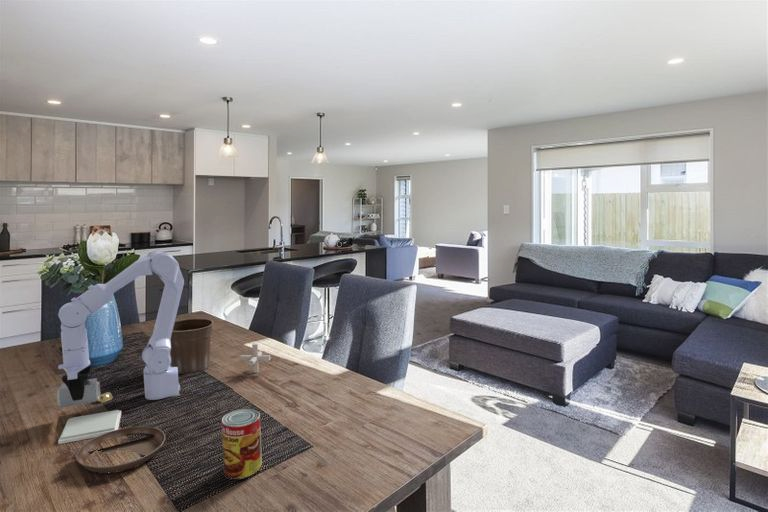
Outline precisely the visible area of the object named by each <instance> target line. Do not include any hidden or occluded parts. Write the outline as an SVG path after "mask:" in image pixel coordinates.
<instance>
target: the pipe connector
mask: <svg viewBox="0 0 768 512" xmlns="http://www.w3.org/2000/svg"><path fill="white" fill-rule="evenodd" d="M251 345H252V347H251V348H252V349H251V350H252V351H251V352H252V354H251V355H250V354H249V355H248V354H245V355H243V354H241V355H240V356H239V358H240V359H239V360H240V362H243V361H245V362H246V361H248V362H247V364H248V366H250V367H251V366H252V372H253V373H254V374H258V373H260V372H259V371H260V370H259V369H260V368H259V367H260V366H259V361H265V362H267V361H271V357H272V356H271V355H269V354H268V355H267V354H265V355H264V354H263V351H261V350H259V347H258V346H259V344H258V343H257V342H255V343H252V344H251Z"/></svg>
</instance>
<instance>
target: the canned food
mask: <svg viewBox="0 0 768 512" xmlns="http://www.w3.org/2000/svg"><path fill="white" fill-rule="evenodd" d="M261 432H262V431H261V413H260V412H259V411H258V410H255V409H252V408H240V409H235V410H232V411H229V412H228V413H226V414H225V415H223V417H222V418H221V434H222V435H221V438H222V456H223V474H224V473H225V475H226V476H229V477H232V478H243V477H247V476H250V475H252V474H254V473H255V472H257V471H258V470H259V469H260V467H261V465H262V466H263V462H262V460H263V459H262V436H261V434H262V433H261ZM225 475H224V476H225ZM226 476H225V477H226Z"/></svg>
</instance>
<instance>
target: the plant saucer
mask: <svg viewBox="0 0 768 512" xmlns="http://www.w3.org/2000/svg"><path fill="white" fill-rule="evenodd" d="M134 434H136V435H137V434H148V435H151V436H148V437H144V438H139V439H136V440H132V441H127V442H124V443H120V444H116V445H111V446H107V447H103V448H99V449H100V450H98V449H95V450H92V449H94V448H95V447H97V446H99V445H101V444H102V443H105V442H107V441H110V440H113V439H116V438H120V437H123V436H128V435H134ZM165 440H166V434H165V432H164V431H163V430H161V429H159V428H157V427H152V426H142V425H141V426H129V427H124V428H123V427H122V428H118V430H115V431H111V432H108V433H105V434H103V435H100V436H98V437H94V438H91V440H89V441H86V442H85V443H84V444H83V445H82V446H81V447H80V448H79V449H78V450H77V453H75V454H76V455H75V460H76V461H77V462H78V464H80V465H81V466H82V467H83V468H85V469H87V471H89V472H92V471H93V472H92V473H95V472H100V473H99V474H102V473H108V472H116V471H122V470H126V469H129V470H131V469H130V468H132V467H135V466H137V465H139V466H141V465H143V464H144V462H145V463H146V461H147V462H149V461H150V460H151V459H152V458H154V456H155V455H156V454H157V453H158V452H159V450H160V449H161V448H162V446H163V444H164V443H165ZM118 448H119V449H120V450H119V451H127V450H131V451H127V452H136V453H139V454H142V455H145V456H144V457H141V458H139V459H137V460H134V461H131V462H127V463H124V464H119V465H113V466H102V467H97V466H89V465H86V464H85V460H86V459H87V457H89V455H90V454H92V453H93V452H94V451H96V450H98V451H101V450H102V453H103V454H105V453H106V452H107V453H110V454H108V455H112V454H114V453H115V452H116V451H117V450H118ZM150 458H151V459H150ZM149 459H150V460H149ZM142 463H143V464H142ZM140 464H141V465H140ZM137 467H138V466H137ZM135 468H136V467H135ZM132 469H133V468H132ZM126 471H127V470H126ZM122 472H123V471H122ZM108 474H109V473H108Z"/></svg>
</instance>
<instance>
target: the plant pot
mask: <svg viewBox="0 0 768 512" xmlns="http://www.w3.org/2000/svg"><path fill="white" fill-rule="evenodd" d="M213 326H214V320H212V319H207V318H186V319H179V320H175V322H174V326H173V330H172V334H171V339H170V342H171V350H170V356H171V367H178V375H187V374H188V375H189V374H193V373H195V372H196V373H198V372H203V371H206V370H207V369H208V368H210V363H211V361H210V360H211V338H212V333H213Z"/></svg>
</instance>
